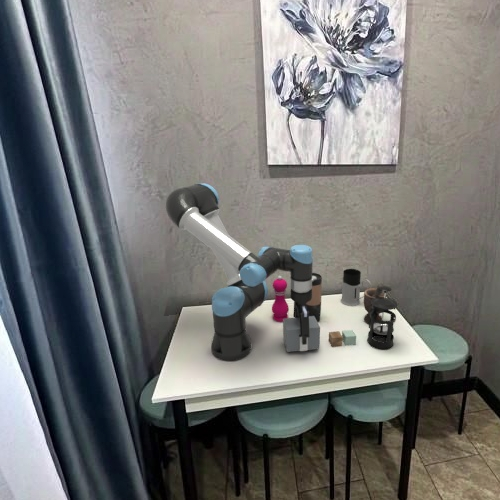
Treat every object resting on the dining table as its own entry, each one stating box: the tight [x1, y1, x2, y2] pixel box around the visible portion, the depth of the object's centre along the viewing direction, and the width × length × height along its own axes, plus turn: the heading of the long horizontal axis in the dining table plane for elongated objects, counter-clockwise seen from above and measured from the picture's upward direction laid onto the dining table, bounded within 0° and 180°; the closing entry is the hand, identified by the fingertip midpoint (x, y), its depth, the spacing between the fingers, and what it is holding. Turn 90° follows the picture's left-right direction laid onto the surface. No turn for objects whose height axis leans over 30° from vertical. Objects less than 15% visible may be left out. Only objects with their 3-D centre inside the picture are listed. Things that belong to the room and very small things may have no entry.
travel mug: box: [306, 272, 323, 323], centre depth 148 cm, size 8×8×20 cm
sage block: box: [341, 329, 357, 347], centre depth 135 cm, size 4×4×4 cm
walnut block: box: [328, 331, 343, 348], centre depth 134 cm, size 4×4×4 cm
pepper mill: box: [271, 275, 290, 323], centre depth 150 cm, size 7×7×20 cm
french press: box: [366, 285, 398, 351], centre depth 131 cm, size 12×9×23 cm
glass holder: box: [340, 268, 372, 307], centre depth 160 cm, size 9×14×15 cm, turn 40°
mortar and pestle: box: [363, 283, 387, 324], centre depth 144 cm, size 12×9×20 cm
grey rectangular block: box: [282, 316, 321, 353], centre depth 131 cm, size 12×8×9 cm, turn 95°
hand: (300, 343), depth 133 cm, fingers closed on grey rectangular block, 8 cm apart
